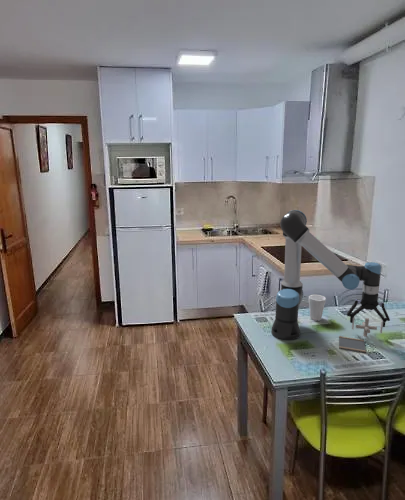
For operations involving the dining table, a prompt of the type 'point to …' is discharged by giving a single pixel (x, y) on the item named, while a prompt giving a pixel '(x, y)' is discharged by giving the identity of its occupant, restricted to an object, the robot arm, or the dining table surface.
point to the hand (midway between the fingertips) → (366, 330)
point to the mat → (352, 344)
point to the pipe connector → (366, 327)
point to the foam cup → (316, 306)
